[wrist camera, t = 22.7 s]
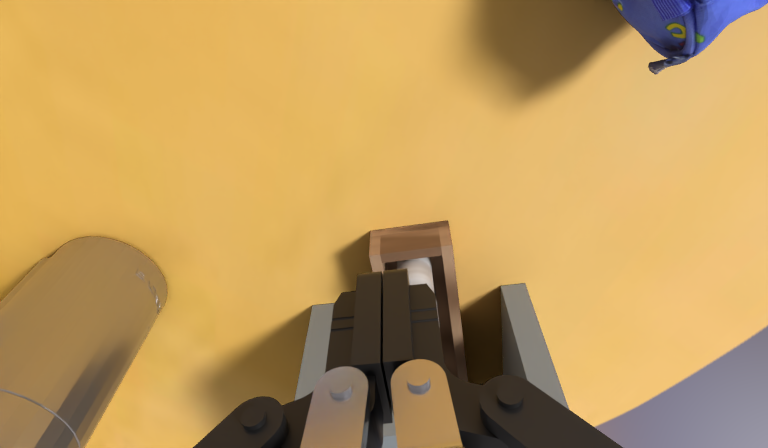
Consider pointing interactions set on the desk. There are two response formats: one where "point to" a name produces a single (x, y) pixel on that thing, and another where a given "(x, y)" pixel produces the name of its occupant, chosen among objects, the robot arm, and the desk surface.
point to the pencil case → (682, 24)
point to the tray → (441, 277)
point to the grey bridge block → (519, 350)
